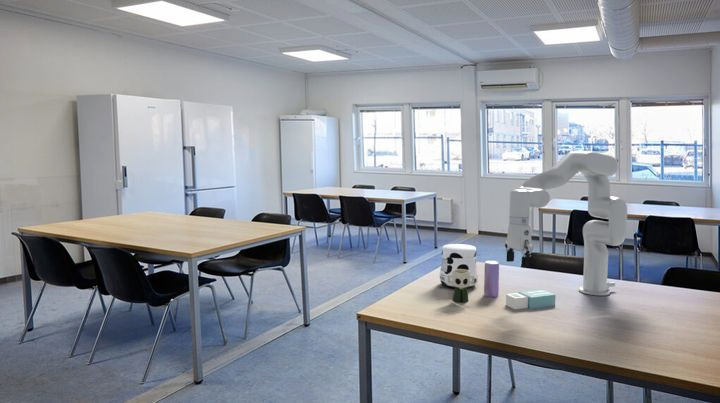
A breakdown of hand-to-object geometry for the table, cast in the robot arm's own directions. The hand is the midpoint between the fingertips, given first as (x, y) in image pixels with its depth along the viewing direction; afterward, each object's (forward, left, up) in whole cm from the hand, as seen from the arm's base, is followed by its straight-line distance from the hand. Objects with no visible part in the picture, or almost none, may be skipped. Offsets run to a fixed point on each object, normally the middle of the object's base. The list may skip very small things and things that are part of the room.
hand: (517, 263), depth 212 cm
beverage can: (0, -17, -18) cm, 25 cm away
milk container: (+5, -37, -18) cm, 41 cm away
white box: (0, 0, -17) cm, 17 cm away
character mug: (+16, -15, -18) cm, 29 cm away
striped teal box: (-10, 0, -17) cm, 20 cm away
